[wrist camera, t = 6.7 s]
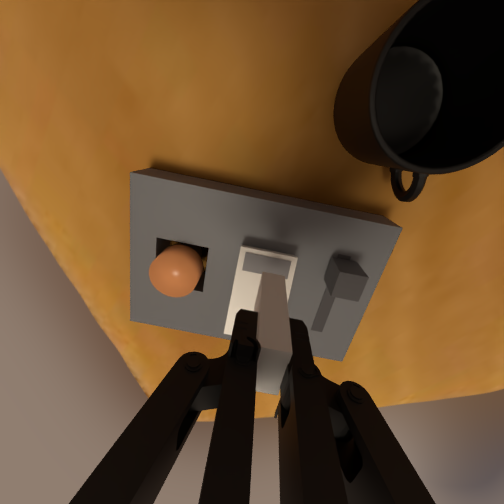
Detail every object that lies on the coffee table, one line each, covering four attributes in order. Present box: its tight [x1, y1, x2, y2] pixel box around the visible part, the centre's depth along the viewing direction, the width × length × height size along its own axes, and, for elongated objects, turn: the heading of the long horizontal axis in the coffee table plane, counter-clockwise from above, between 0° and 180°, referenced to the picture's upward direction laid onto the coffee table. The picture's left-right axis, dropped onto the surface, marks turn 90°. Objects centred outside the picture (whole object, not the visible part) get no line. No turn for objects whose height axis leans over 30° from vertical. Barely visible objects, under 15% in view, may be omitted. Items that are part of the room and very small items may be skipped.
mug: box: [334, 0, 504, 202], centre depth 18 cm, size 9×12×9 cm
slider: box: [324, 257, 369, 302], centre depth 22 cm, size 2×2×3 cm
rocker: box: [224, 245, 298, 335], centre depth 23 cm, size 8×5×2 cm, turn 169°
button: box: [149, 243, 203, 297], centre depth 26 cm, size 4×4×6 cm
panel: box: [130, 168, 402, 361], centre depth 26 cm, size 16×24×5 cm, turn 79°
